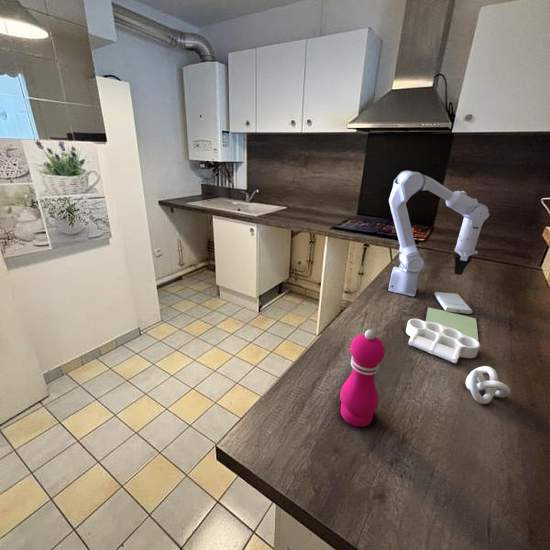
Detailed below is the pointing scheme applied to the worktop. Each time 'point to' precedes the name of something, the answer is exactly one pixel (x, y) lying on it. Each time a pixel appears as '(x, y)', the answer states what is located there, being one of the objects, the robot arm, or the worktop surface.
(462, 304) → the hard drive
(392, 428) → the worktop surface
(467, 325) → the mat
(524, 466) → the worktop surface
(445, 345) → the white brass knuckles
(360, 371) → the pepper mill
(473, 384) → the knot
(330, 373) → the worktop surface
